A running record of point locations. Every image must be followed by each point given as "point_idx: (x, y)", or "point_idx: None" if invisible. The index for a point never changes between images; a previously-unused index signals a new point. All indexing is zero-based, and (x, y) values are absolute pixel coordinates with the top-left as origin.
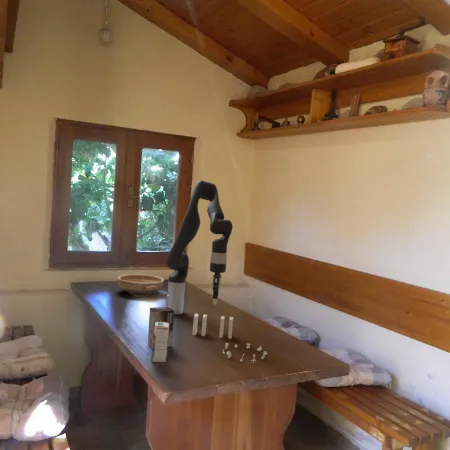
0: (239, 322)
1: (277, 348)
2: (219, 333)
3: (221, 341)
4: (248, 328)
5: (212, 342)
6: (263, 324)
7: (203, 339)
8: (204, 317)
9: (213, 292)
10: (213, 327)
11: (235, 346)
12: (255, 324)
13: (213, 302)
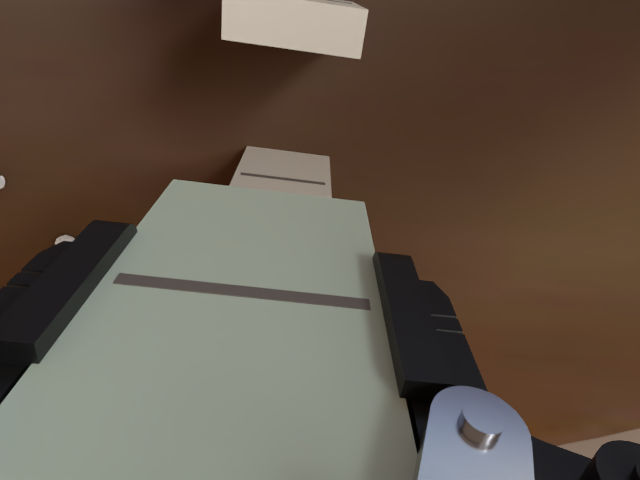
0: (631, 313)
1: None
2: (242, 157)
3: (157, 157)
4: (487, 348)
5: (106, 84)
6: (569, 427)
7: (158, 5)
8: (222, 14)
9: (19, 310)
10: (514, 116)
11: (56, 242)
12: (573, 391)
13: (161, 198)
